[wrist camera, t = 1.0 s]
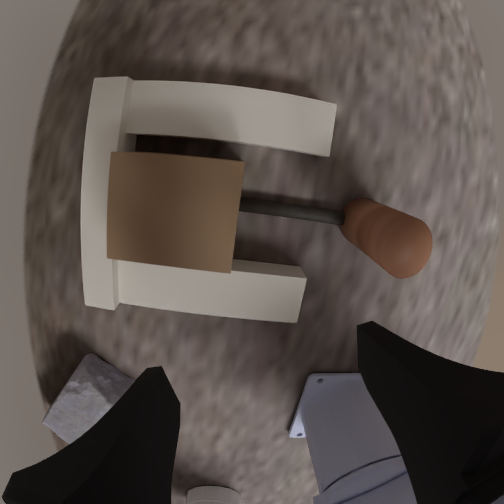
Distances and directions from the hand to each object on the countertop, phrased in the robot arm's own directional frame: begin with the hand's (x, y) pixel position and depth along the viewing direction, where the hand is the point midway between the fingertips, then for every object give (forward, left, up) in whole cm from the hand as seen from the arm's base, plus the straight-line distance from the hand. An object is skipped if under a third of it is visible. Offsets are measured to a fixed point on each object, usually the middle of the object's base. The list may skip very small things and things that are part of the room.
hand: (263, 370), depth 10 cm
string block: (0, -4, -10) cm, 11 cm away
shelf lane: (+2, -4, -10) cm, 11 cm away
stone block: (+11, +15, -10) cm, 21 cm away
